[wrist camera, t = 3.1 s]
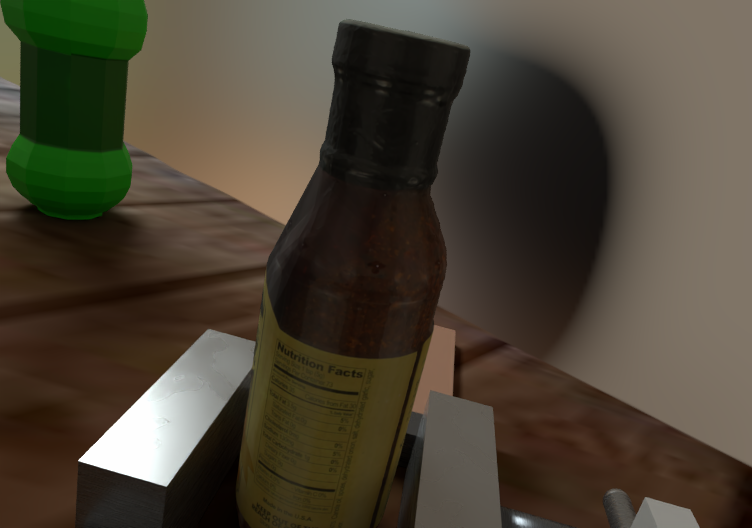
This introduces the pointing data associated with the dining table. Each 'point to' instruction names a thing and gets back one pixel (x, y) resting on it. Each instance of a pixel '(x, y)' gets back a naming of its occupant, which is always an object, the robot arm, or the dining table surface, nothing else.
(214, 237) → the dining table surface
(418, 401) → the terracotta tile
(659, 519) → the robot arm
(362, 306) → the sauce bottle
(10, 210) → the dining table surface
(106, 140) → the plastic bottle
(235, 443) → the dark grey square frame
